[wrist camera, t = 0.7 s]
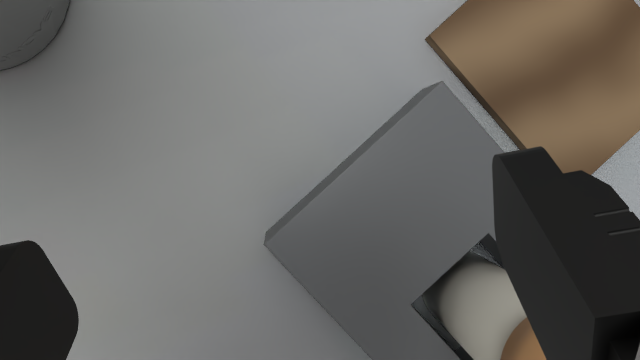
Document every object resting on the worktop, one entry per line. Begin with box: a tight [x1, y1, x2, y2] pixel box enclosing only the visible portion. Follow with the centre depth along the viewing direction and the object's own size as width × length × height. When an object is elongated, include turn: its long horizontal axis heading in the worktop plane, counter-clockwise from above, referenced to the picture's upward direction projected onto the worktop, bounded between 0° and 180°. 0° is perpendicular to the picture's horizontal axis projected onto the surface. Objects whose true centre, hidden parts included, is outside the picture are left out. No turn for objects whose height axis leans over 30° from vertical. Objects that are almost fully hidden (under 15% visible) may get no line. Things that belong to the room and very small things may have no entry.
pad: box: [425, 0, 640, 175], centre depth 32 cm, size 12×10×1 cm
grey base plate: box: [264, 81, 505, 360], centre depth 30 cm, size 20×12×4 cm, turn 42°
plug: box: [422, 251, 546, 360], centre depth 25 cm, size 5×5×14 cm
